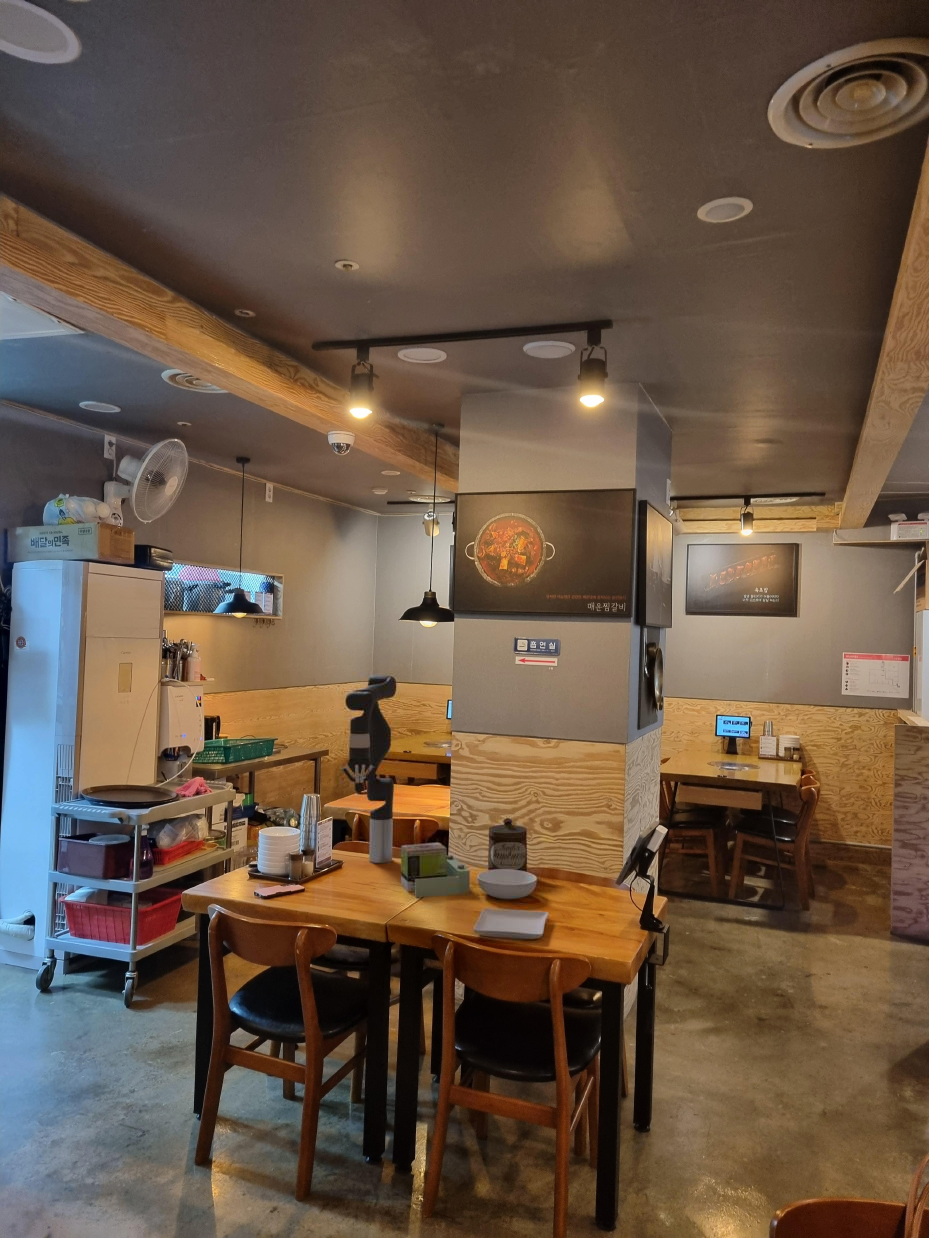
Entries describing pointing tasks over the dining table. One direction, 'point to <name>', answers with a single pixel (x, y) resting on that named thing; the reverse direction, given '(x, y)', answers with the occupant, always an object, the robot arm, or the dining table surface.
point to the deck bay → (445, 881)
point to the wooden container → (507, 847)
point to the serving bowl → (507, 883)
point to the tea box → (422, 863)
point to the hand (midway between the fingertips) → (358, 792)
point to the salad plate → (511, 923)
